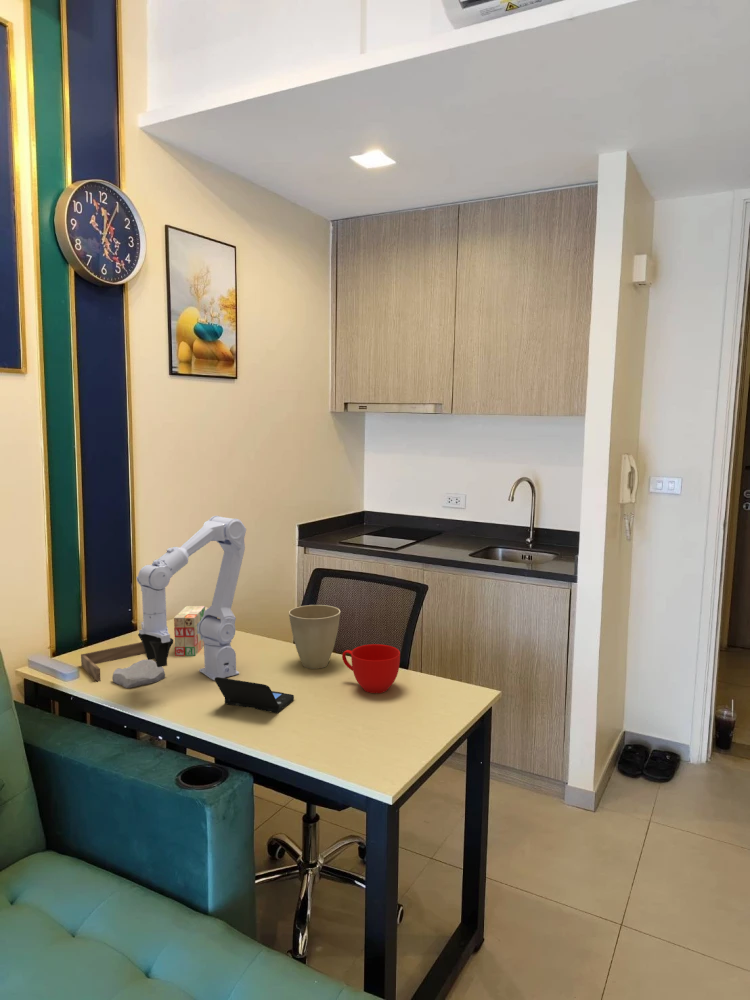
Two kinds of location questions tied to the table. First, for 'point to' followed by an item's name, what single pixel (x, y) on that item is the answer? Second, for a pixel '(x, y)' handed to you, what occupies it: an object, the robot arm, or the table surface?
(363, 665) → the ceramic cup
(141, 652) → the box
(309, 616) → the plant pot
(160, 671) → the stone block
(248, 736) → the table surface
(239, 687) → the game console
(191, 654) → the stack of blocks
